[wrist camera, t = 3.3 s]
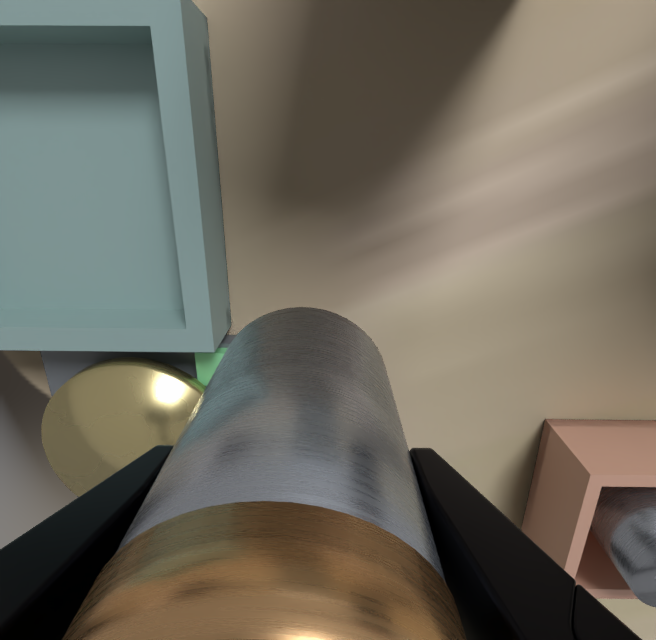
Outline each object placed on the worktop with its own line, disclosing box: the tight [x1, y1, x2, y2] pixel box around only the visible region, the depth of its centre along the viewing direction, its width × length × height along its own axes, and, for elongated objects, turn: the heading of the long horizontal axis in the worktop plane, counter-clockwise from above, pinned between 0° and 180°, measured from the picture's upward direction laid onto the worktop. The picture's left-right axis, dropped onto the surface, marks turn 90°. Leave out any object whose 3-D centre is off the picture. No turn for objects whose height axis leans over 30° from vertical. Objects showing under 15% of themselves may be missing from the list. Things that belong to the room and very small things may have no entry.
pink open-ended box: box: [521, 419, 656, 599], centre depth 21 cm, size 7×7×4 cm
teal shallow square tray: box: [0, 0, 231, 352], centre depth 16 cm, size 12×12×3 cm
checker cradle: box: [40, 335, 237, 497], centre depth 21 cm, size 9×9×2 cm
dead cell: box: [590, 486, 656, 607], centre depth 19 cm, size 4×4×6 cm
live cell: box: [62, 307, 467, 640], centre depth 7 cm, size 4×4×9 cm
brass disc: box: [41, 357, 206, 497], centre depth 19 cm, size 8×8×1 cm
